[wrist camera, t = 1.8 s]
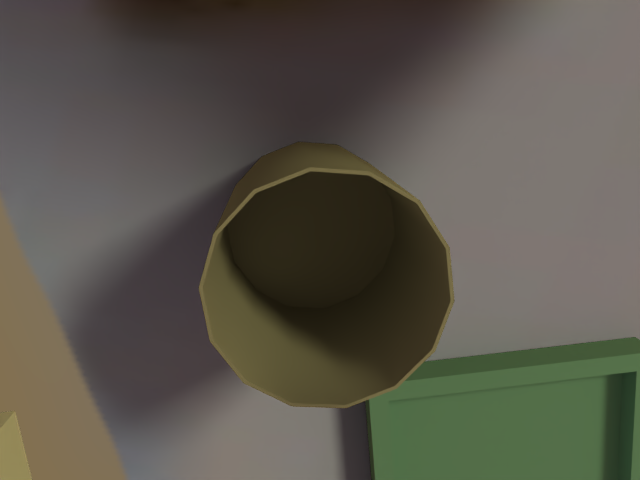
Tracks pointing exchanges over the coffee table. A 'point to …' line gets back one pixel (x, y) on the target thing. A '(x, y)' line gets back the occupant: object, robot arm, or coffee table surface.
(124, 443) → the coffee table surface
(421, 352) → the cup
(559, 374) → the tray
